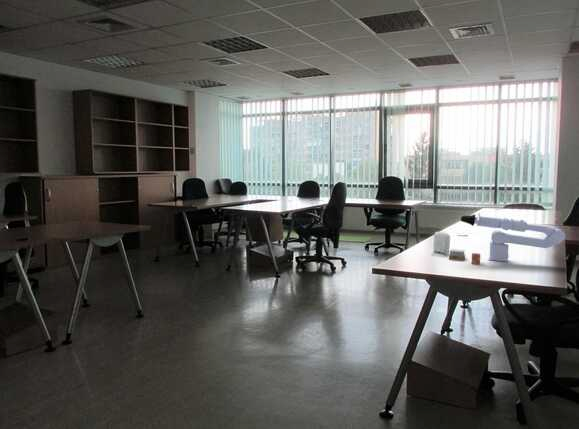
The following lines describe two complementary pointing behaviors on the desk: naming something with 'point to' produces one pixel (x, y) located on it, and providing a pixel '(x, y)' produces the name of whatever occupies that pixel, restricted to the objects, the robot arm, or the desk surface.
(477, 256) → the red block
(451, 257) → the walnut slab
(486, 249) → the desk surface
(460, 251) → the grey slab
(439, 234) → the photo printer
